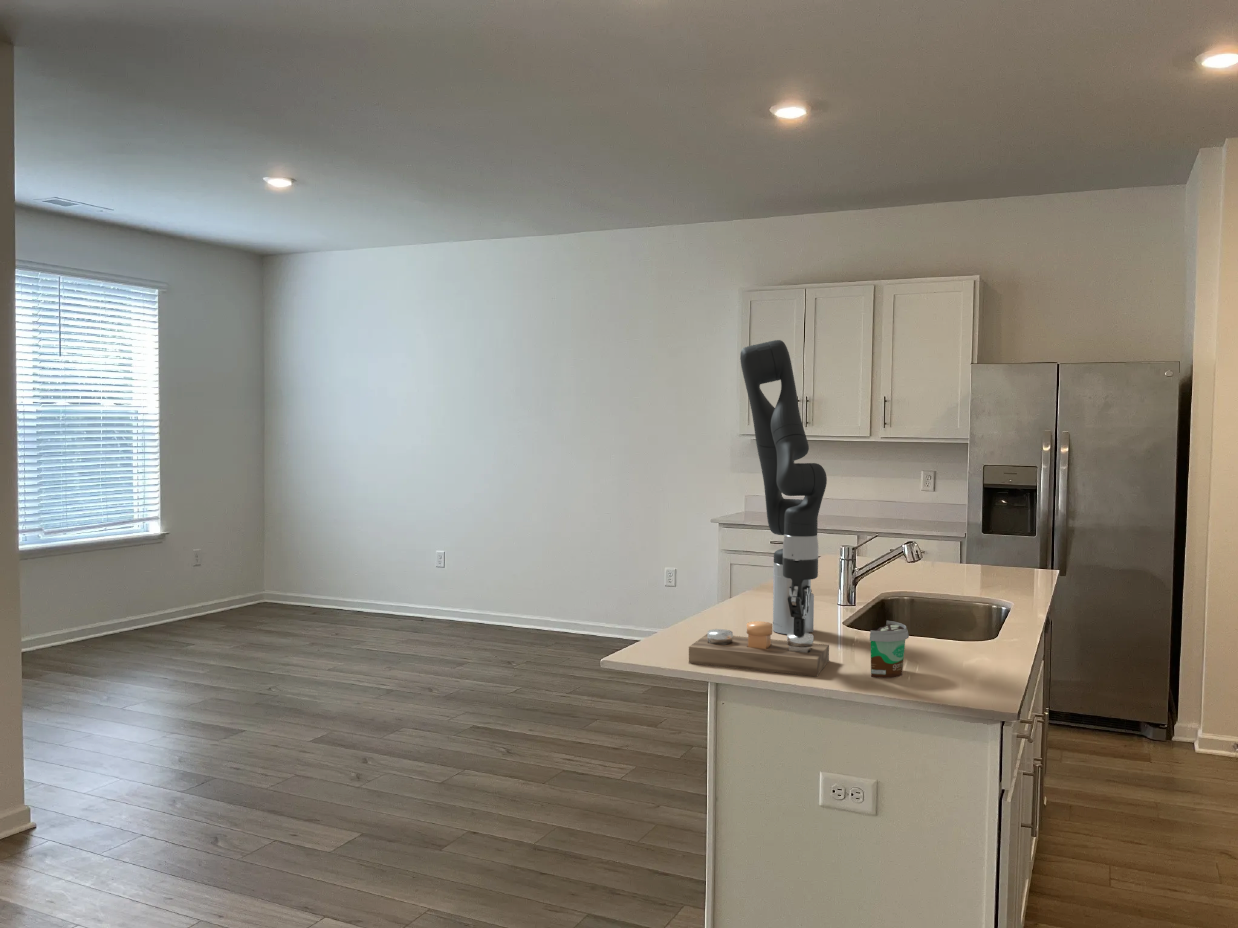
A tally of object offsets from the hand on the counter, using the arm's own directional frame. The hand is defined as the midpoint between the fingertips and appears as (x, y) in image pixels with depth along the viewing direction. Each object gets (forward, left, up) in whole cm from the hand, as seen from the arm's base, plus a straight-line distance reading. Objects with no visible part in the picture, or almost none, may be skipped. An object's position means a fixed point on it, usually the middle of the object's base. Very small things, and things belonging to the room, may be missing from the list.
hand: (799, 635), depth 212 cm
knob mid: (+6, -6, -4) cm, 10 cm away
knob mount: (+6, -6, -7) cm, 11 cm away
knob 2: (0, 0, -6) cm, 6 cm away
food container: (-15, +13, -7) cm, 21 cm away
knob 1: (+12, -13, -7) cm, 19 cm away
